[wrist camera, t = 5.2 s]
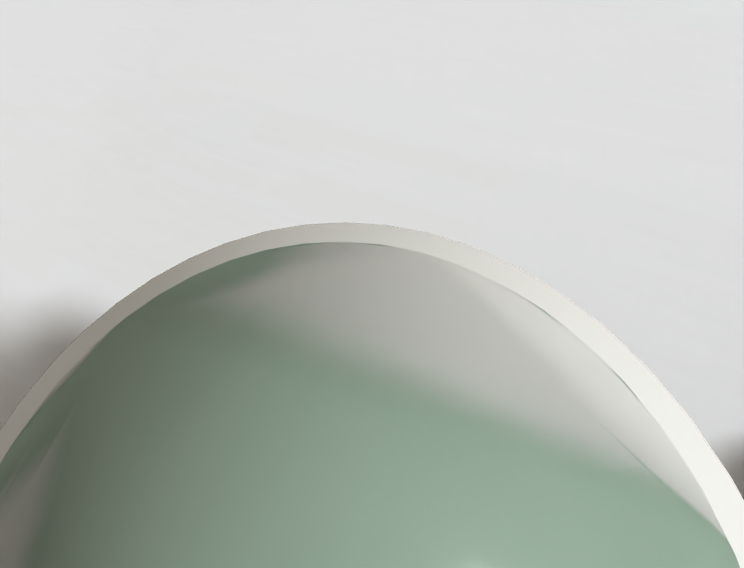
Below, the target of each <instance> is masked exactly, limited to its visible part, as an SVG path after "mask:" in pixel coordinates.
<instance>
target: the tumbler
mask: <svg viewBox="0 0 744 568" xmlns="http://www.w3.org/2000/svg"><path fill="white" fill-rule="evenodd" d="M0 568H744V500H743V498H742V496H741V494H740V492H739V490H738V489H737V487H736V485H735V483H734V481H733V479H732V478H731V476H730V475H729V473H728V472H727V470H726V469H725V467H724V466H723V464H722V463H721V461H720V460H719V459H718V457H717V456H716V454H715V453H714V451H713V450H712V448H711V447H710V445H709V444H708V442H707V441H706V440H705V438H704V437H703V435H702V434H701V432H700V431H699V429H698V428H697V426H696V425H695V423H694V422H693V421H692V419H691V418H690V416H689V415H688V414H687V413H686V412H685V410H684V409H683V408H682V407H681V406H680V405H679V403H678V402H677V401H676V400H675V399H674V398H673V396H672V395H671V394H670V393H669V392H668V391H667V389H666V388H665V387H664V386H663V385H662V383H661V382H660V381H659V380H658V379H657V378H656V376H655V375H654V374H653V373H652V372H651V371H650V369H649V368H648V367H647V366H646V365H645V364H644V363H643V362H642V361H641V360H640V359H639V358H638V357H636V356H635V355H634V354H633V353H632V352H631V351H630V350H629V349H628V348H627V347H626V346H625V345H624V344H623V343H622V342H621V341H620V340H618V339H617V338H616V337H615V336H614V335H613V334H612V333H611V332H610V331H609V330H608V329H607V328H606V327H605V326H604V325H602V324H601V323H600V322H599V321H597V320H596V319H595V318H593V317H592V316H591V315H589V314H588V313H587V312H585V311H584V310H583V309H581V308H580V307H579V306H577V305H576V304H575V303H573V302H572V301H571V300H569V299H568V298H567V297H565V296H564V295H563V294H561V293H560V292H559V291H557V290H555V289H554V288H552V287H550V286H549V285H547V284H545V283H544V282H542V281H540V280H538V279H537V278H535V277H533V276H532V275H530V274H528V273H527V272H525V271H523V270H522V269H520V268H518V267H516V266H515V265H513V264H510V263H508V262H506V261H504V260H501V259H499V258H497V257H495V256H492V255H490V254H488V253H486V252H483V251H481V250H479V249H477V248H474V247H472V246H469V245H466V244H463V243H459V242H456V241H453V240H450V239H447V238H443V237H440V236H437V235H434V234H430V233H427V232H421V231H416V230H410V229H405V228H399V227H394V226H388V225H377V224H361V223H345V222H344V223H327V224H309V225H300V226H294V227H288V228H283V229H277V230H271V231H265V232H262V233H258V234H255V235H252V236H248V237H245V238H241V239H238V240H235V241H231V242H228V243H225V244H223V245H220V246H218V247H215V248H213V249H211V250H208V251H206V252H203V253H201V254H199V255H196V256H194V257H191V258H189V259H187V260H185V261H184V262H182V263H180V264H178V265H176V266H174V267H173V268H171V269H169V270H167V271H165V272H163V273H162V274H160V275H158V276H156V277H154V278H153V279H151V280H150V281H148V282H147V283H145V284H144V285H142V286H141V287H139V288H138V289H137V290H135V291H134V292H132V293H131V294H129V295H128V296H126V297H125V298H123V299H122V300H121V301H119V302H118V303H116V304H115V305H114V306H113V307H112V308H110V309H109V310H108V311H107V312H106V313H105V314H103V315H102V316H101V317H100V318H99V319H97V320H96V321H95V322H94V323H93V324H91V325H90V326H89V327H88V328H87V329H85V330H84V331H83V332H82V333H81V334H80V335H79V336H78V337H77V338H76V339H75V340H74V341H73V342H72V343H71V344H70V345H69V346H68V347H67V348H66V349H65V350H64V351H63V352H62V353H61V355H60V356H59V357H58V358H57V359H56V360H55V361H54V362H53V363H52V364H51V365H50V366H49V367H48V368H47V370H46V371H45V372H44V373H43V374H42V376H41V377H40V378H39V379H38V380H37V382H36V383H35V384H34V385H33V387H32V388H31V389H30V390H29V391H28V393H27V394H26V395H25V396H24V398H23V399H22V400H21V401H20V402H19V404H18V405H17V407H16V408H15V410H14V411H13V412H12V414H11V415H10V417H9V418H8V420H7V421H6V423H5V424H4V426H3V427H2V429H1V430H0Z"/></svg>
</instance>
